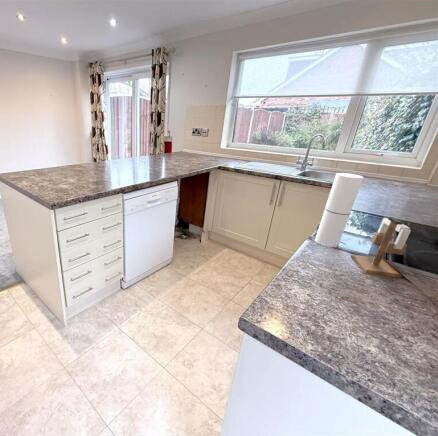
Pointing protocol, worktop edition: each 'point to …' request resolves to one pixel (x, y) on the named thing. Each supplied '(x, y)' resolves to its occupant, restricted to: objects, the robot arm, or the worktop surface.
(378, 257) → the stand
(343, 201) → the cylindrical container
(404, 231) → the wooden bracket
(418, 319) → the worktop surface
